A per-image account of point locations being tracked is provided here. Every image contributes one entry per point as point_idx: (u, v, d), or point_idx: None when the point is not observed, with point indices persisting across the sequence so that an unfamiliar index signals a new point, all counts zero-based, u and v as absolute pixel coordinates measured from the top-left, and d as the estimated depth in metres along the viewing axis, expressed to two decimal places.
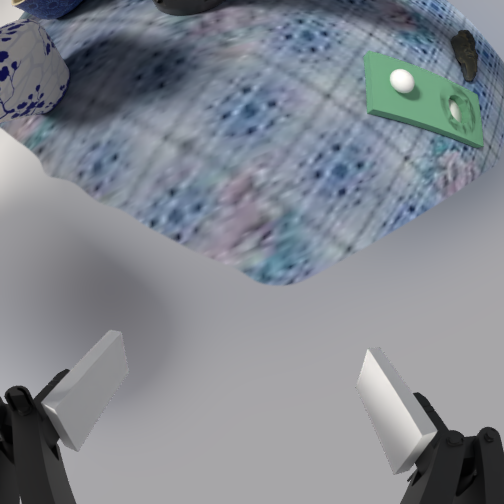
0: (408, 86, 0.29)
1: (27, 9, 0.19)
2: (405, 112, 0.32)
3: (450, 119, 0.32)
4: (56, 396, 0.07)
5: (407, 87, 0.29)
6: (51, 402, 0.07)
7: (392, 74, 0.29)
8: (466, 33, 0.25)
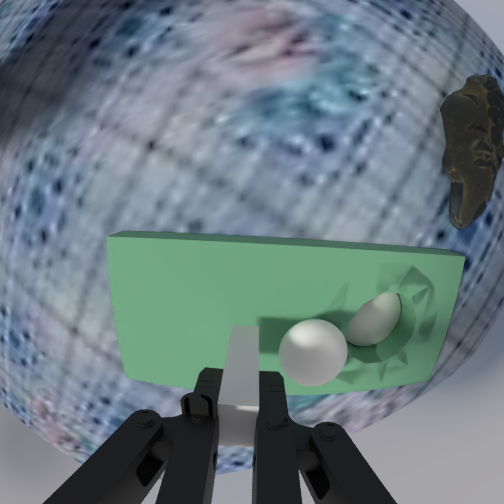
0: None
1: None
2: (196, 381, 0.18)
3: None
4: (230, 393, 0.09)
5: None
6: (229, 400, 0.09)
7: None
8: (488, 87, 0.11)
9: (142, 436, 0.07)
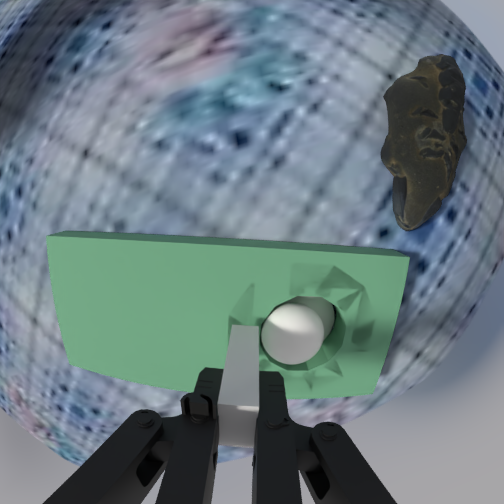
0: (303, 360, 0.15)
1: None
2: (124, 371, 0.17)
3: None
4: (230, 393, 0.09)
5: (299, 361, 0.15)
6: (229, 400, 0.09)
7: (275, 322, 0.15)
8: (442, 67, 0.11)
9: (142, 436, 0.07)
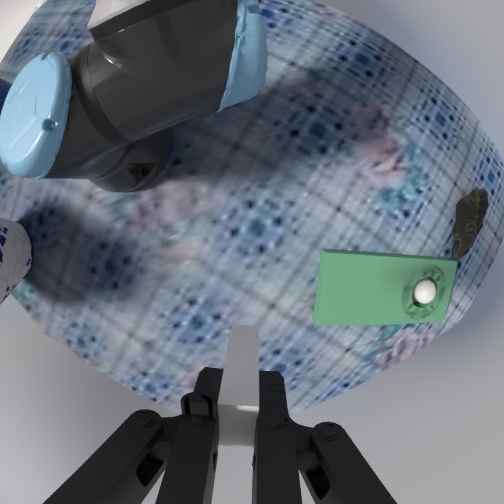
0: (432, 299, 0.37)
1: None
2: (352, 320, 0.38)
3: (407, 310, 0.38)
4: (230, 393, 0.09)
5: (431, 300, 0.36)
6: (229, 400, 0.09)
7: (427, 287, 0.36)
8: (481, 197, 0.32)
9: (142, 436, 0.07)
